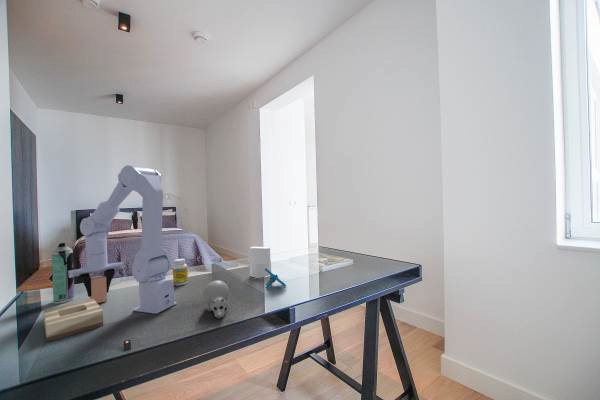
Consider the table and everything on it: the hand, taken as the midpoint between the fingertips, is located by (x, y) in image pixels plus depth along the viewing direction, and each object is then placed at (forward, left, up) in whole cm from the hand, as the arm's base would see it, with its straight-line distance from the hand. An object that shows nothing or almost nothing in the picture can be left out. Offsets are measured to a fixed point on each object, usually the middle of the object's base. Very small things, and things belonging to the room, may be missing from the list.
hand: (98, 294), depth 89 cm
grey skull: (-45, -3, -3) cm, 45 cm away
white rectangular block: (-40, -40, -3) cm, 57 cm away
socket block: (-11, +14, -3) cm, 18 cm away
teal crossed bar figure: (-53, -27, -3) cm, 59 cm away
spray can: (+14, +2, -3) cm, 14 cm away
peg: (0, 0, -2) cm, 2 cm away
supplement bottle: (-13, -23, -3) cm, 27 cm away
